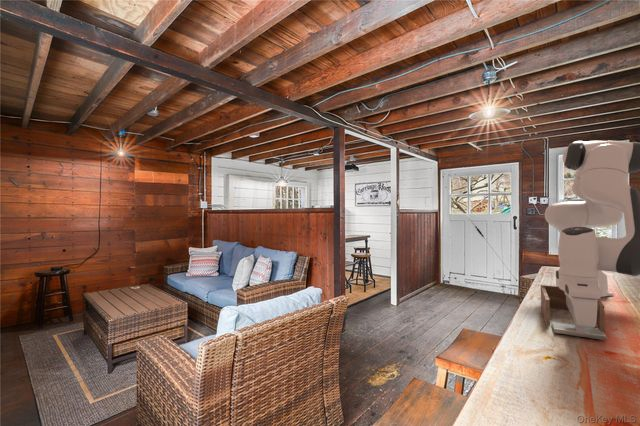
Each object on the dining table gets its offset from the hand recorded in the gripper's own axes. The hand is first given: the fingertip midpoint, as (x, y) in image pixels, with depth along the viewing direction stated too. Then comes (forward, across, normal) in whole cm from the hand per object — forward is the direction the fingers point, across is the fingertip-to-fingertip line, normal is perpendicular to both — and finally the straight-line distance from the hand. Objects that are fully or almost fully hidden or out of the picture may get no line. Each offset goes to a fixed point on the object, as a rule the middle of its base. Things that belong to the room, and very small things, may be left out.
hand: (579, 332), depth 87 cm
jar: (+2, -37, +2) cm, 37 cm away
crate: (+2, -18, 0) cm, 18 cm away
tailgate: (+2, -8, 0) cm, 8 cm away
